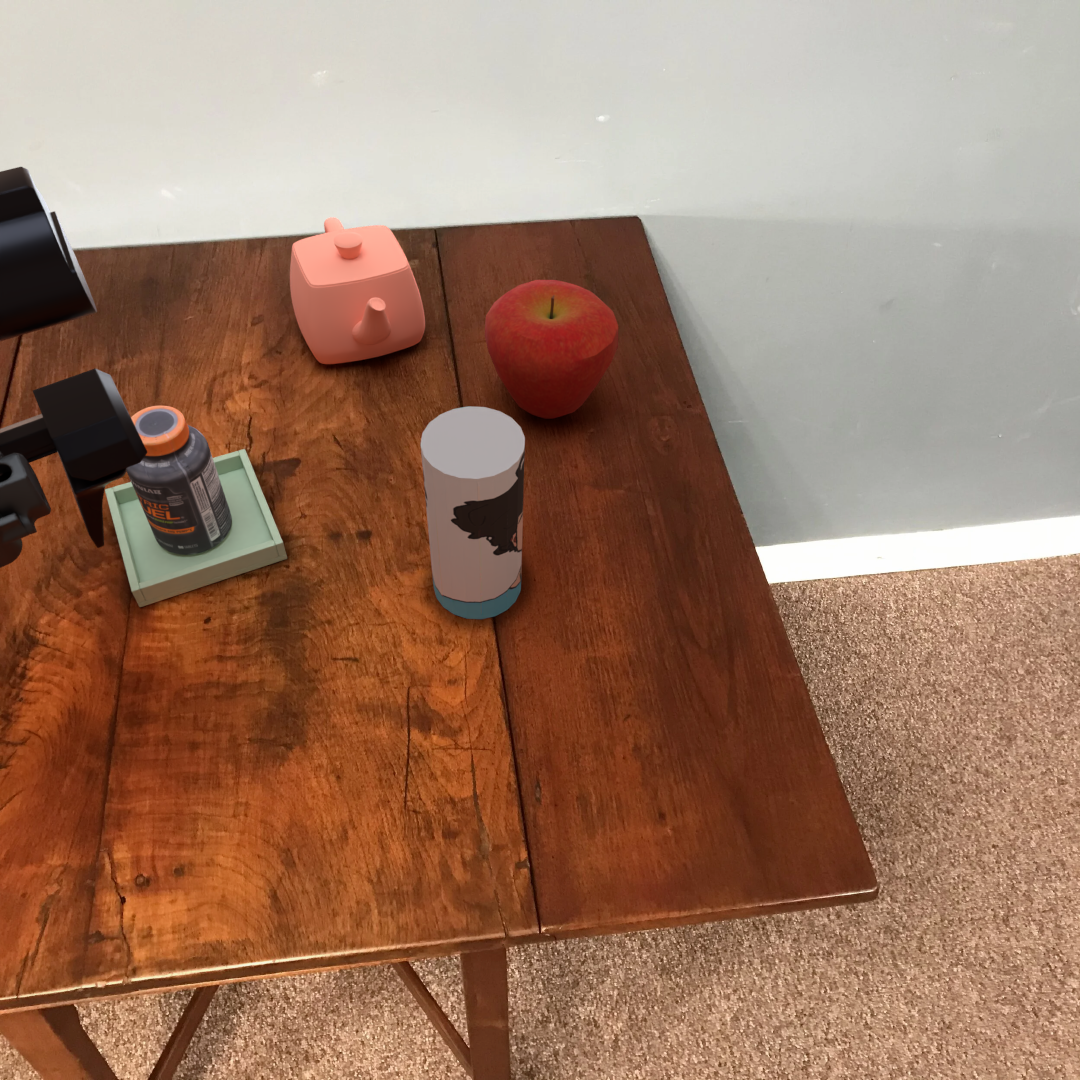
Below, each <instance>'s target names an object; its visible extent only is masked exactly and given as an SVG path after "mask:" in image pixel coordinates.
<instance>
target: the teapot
mask: <svg viewBox="0 0 1080 1080" xmlns="http://www.w3.org/2000/svg"><path fill="white" fill-rule="evenodd" d="M323 229H324V233H320V234H316V235H312V236H307V237H304V238H301V239H299V240H297V241H295V242H293V244H292V246H291V254H290V265H289V266H290V267H289V268H290V269H289V289H290V297H291V303H292V308H293V312H294V315H295V319H296V322H297V325H298V328H299V330H300V332H301V335H302V337H303V339H304V341H305V343H306V345H307V346H308V348H309V350H310V351H311V353H312V355H313V357H314V358H315V359H316V361H317V362H318V363H320V364H322V365H323V364H324V365H335V364H345V363H351V362H359V361H363V360H369V359H374V358H378V357H382V356H386V355H390V354H393V353H395V352H399V351H402V350H405V349H407V348H410V347H413V346H416V345H417V344H419V343H420V342H421V341H422V338H423V336H424V333H425V330H426V317H425V310H424V304H423V301H422V296H421V293H420V290H419V286H418V284H417V281H416V278H415V276H414V273H413V270H412V268H411V265H410V262H409V260H408V257H407V256H406V254H405V252H404V250H403V248H402V247H401V245H400V243H399V241H398V240H397V238H396V236H395V234H394V233H393V231H392V230H391V229H390V228H389V227H388V226H386V225H381V224H377V225H376V224H374V225H366V226H365V225H363V226H357V227H350V228H344V225H343V223H342V222H341V220H340V219H339V218H337V217H334V216H331V217H330V216H329V217H327V218H326V219H325V220H324V222H323Z"/></svg>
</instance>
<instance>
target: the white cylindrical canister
mask: <svg viewBox="0 0 1080 1080" xmlns="http://www.w3.org/2000/svg"><path fill="white" fill-rule="evenodd" d="M525 449H526V437H525V435H524V432H523V430H522V427H521V426H520V425H519V424H518V422H516V421H515V419H513V417H511V416H510V415H508V414H505V413H504V412H502V411H501V410H496V409H494V408H489V407H486V406H470V405H469V406H468V405H467V406H462V407H457V408H453V409H449V410H448V411H445V412H443V413H441V414H439V415H438V416H436V417H435V418H434V419H432V420H431V421H429V422H428V424H427V425H426V427H425V428H424V430H423V431H422V433H421V439H420V455H421V466H422V476H423V487H424V488H423V489H424V498H425V509H426V521H427V531H428V544H429V554H430V564H431V576H432V586H433V587H432V588H433V590H434V594H435V597H436V600H437V601H438V603H440V605H441V606H442V607H443V608H444V610H446V611H448V612H449V613H451V614H452V615H453V616H457V617H461V618H464V619H467V620H485V619H489V618H495V617H496V616H498V615H501V614H503V613H504V612H507V611H508V609H510V608H511V607H512V606H513V605H514V604H515V603H516V602H517V600H518V598H519V596H520V593H521V592H522V591H521V590H522V571H523V570H522V569H523V567H522V565H523V532H524V531H523V529H524V528H523V527H524V526H523V525H524V489H525V453H526V452H525Z"/></svg>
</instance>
